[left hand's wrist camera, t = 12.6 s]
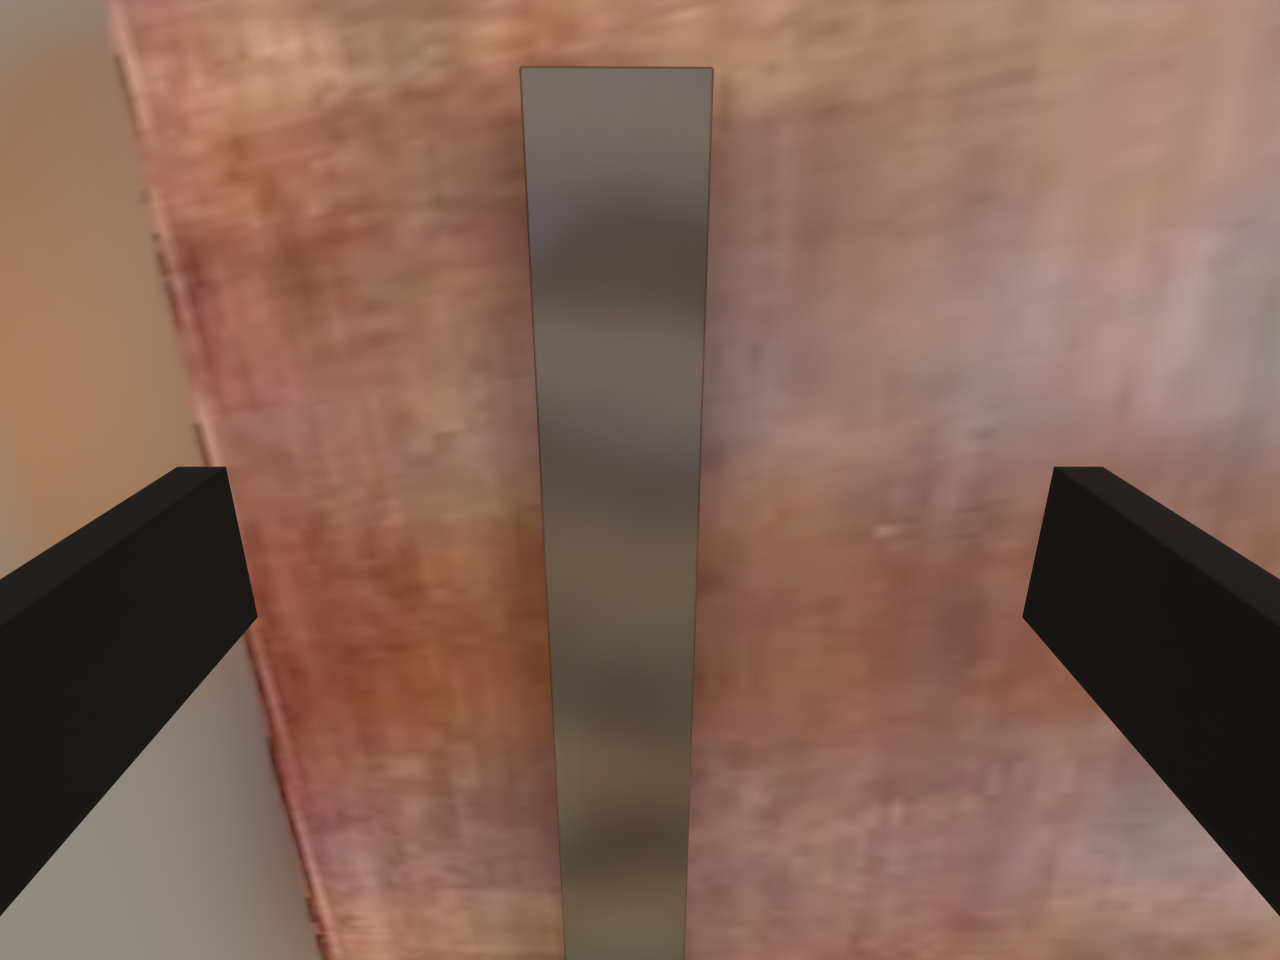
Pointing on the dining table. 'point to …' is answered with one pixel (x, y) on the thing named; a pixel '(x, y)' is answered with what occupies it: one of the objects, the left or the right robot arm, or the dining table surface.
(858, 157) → the dining table surface
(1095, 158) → the dining table surface
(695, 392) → the wooden plank
